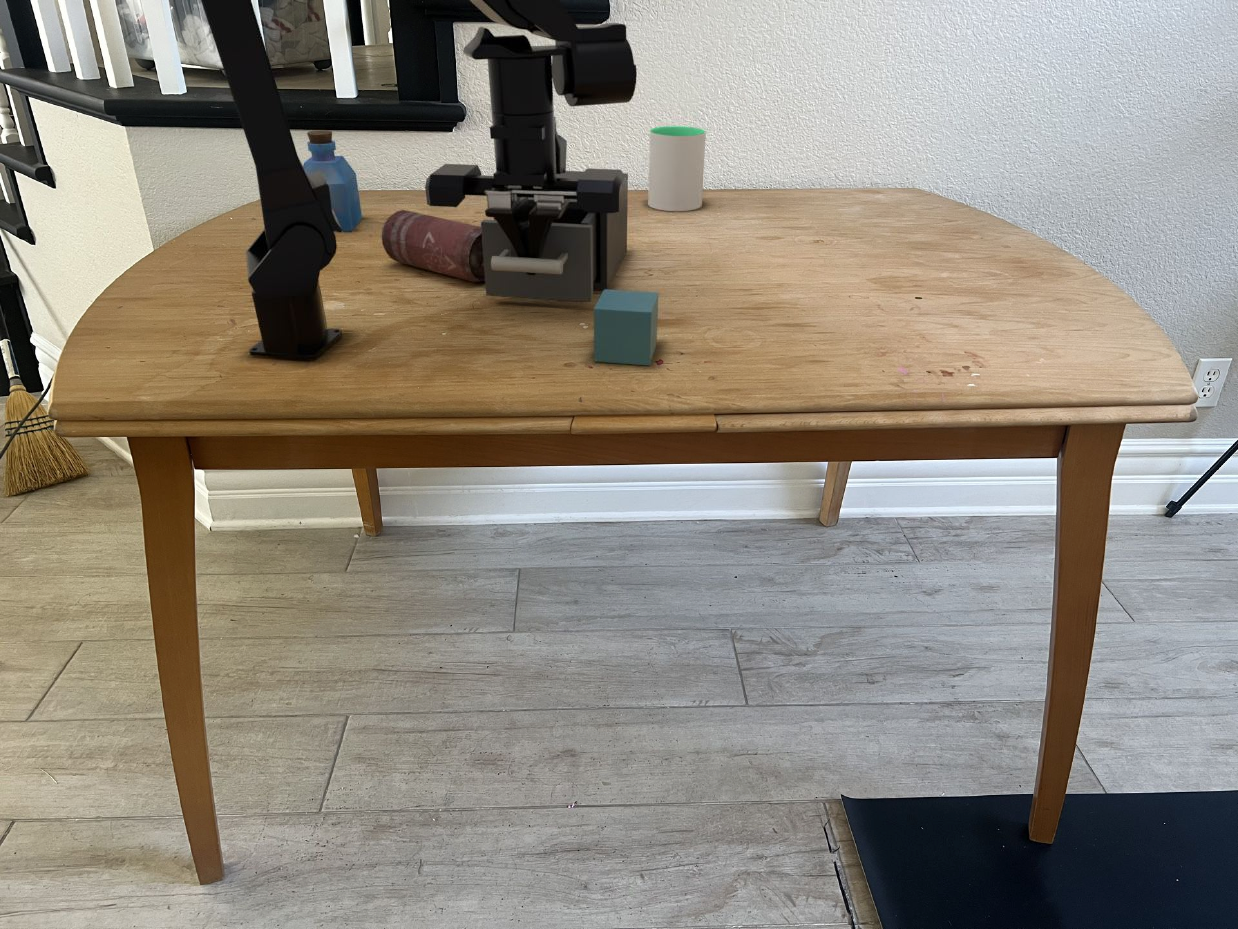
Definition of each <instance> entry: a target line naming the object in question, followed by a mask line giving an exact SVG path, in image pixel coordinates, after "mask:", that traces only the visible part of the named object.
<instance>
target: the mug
mask: <svg viewBox="0 0 1238 929" xmlns="http://www.w3.org/2000/svg"><path fill="white" fill-rule="evenodd" d="M706 135H707V131H706V130H705V129H702V128H699V127H693V126H683V125H682V126H681V125H668V126H667V125H666V126H658V127H657V126H656V127H653V128H651V129H649V146H648V147H649V148H648V149H649V150H648V151H649V153H648V185H647V186H648V188H647V189H648V190H647V193H648V194H647V205H648V206H649V207H650V208H653V209H655V210H658V211H659V210H660V211H667V212H688V211H694V210H699V209H700V208H702V206H703V192H704V190H703V188H704V174H705V173H704V170H705V154H706V137H707V136H706Z"/></svg>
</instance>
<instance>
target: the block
mask: <svg viewBox="0 0 1238 929" xmlns="http://www.w3.org/2000/svg"><path fill="white" fill-rule="evenodd" d="M658 317H659V292H655V291H637V290H623V289H622V290H621V289H609V288H608V289H604V290H602V292H601V294H600V296H599V299H598V300H597V302H596V304H595V305H594V307H593V361H594V362H596V363H609V364H620V365H621V364H622V365H633V366H634V365H635V366H636V365H637V366H646V367H647V366H648V367H649V366H651V363H652V360H653V357H654V354H655V350H656V349H657V348H656V347H657V345H658V319H659V318H658Z"/></svg>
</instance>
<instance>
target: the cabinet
mask: <svg viewBox="0 0 1238 929" xmlns="http://www.w3.org/2000/svg"><path fill="white" fill-rule="evenodd" d="M583 173H584V171H581V170H566V172H565V173H561V174H556V177H557V178H573V179H579V178H580V176H581V175H582V174H583ZM623 173H624V174H625V176H626V179H627V198H626V200H625V202H624V204H623V206H622V207H621V209H620V211H619V212H616V213H600V272H599V274H598V276H597V277H596V279H595V281H594V283H593V291H603V290H604V289H608V290H609V288H610V285H611V284H612V282H613V280H614V278H615V276H616V274H617V272H618V270H619V268H620V266H621V264H622V262H623V260H624V258H625V256H626V254H627V252H628V206H629V205H628V204H629V203H628V201H629V200H628V197H629V196H628V195H629V194H628V193H629V190H628V189H629V181H628V180H629V173H627V172H626V173H625V172H623ZM508 187H509V188H514V187H515V188H518V187H519V186H511V185H510V186H508ZM519 188H521V186H520V187H519ZM534 188H540V189H541V187H539V186H538V187H535V186H534ZM535 206H536V202H534V198H528V207H535ZM567 209H581V210H583V209H582V208H581V207H580V206H579V205H578V204H577V199H570V203H569V207H568V208H567ZM493 220H495V218H493Z"/></svg>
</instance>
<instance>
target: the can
mask: <svg viewBox="0 0 1238 929" xmlns="http://www.w3.org/2000/svg"><path fill="white" fill-rule="evenodd" d="M381 242H382V246H383V249H384V251H385V253H386V255H387V256H388V257H389V258H390V259H391V260H393V261H395V262H397V263H400V264H404V265H408V266H412V267H416V268H419V269H423V270H426V271H432V272H434V273H438V274H442V275H445V276H450V277H454V278H457V279H460V280H464V281H468V282H473V283H480V282H483V281H484V282H485V271H484V257H483V244H482V230H481V226H479V225H475V224H470V223H466V222H465V223H464V222H461V221H456V220H451V219H447V218H443V217H438V216H434V215H429V214H424V213H420V212H416V211H411V210H406V209H400V210H397V211H395V212H394V213H392V214H391V215H389V217H388V218H387V219H386V220H385V221H384V224H383V227H382V231H381Z"/></svg>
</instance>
